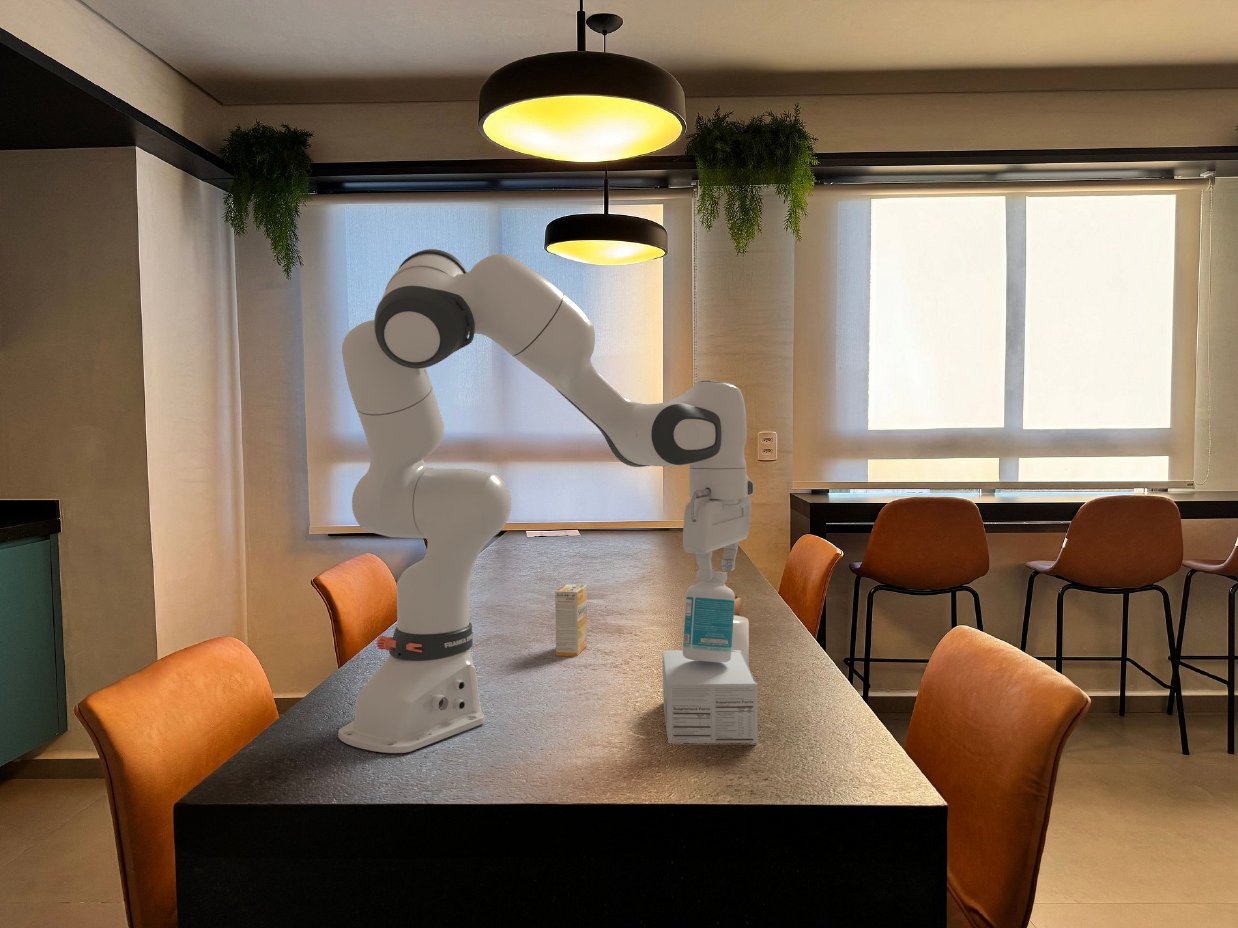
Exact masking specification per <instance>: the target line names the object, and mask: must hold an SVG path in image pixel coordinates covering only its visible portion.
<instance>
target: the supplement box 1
mask: <svg viewBox="0 0 1238 928" xmlns="http://www.w3.org/2000/svg"><path fill="white" fill-rule="evenodd" d="M554 594H555V595H554V596H555V597H554V598H555V656H557V657H578V656H579V655H580V654H581V653H582V652H583V650H584V649H585V648H587V646H588V601H587V599H588V585H587V584H577V583H575V584H572V583H571V584H564V586H562V587H560V588H558V589H557V590H556V591H555V592H554Z"/></svg>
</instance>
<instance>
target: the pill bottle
mask: <svg viewBox="0 0 1238 928" xmlns="http://www.w3.org/2000/svg"><path fill="white" fill-rule="evenodd" d="M696 571H697V572H696V580H697V582H696V583H695V584H692V585H690V586H689V587H688V588H687V590H686V600H685V611H684V612H685V613H684V627H683V641H682V650H683V656H684V657H685V658H687V659H691V660H697V661H706V662H728V661H730V659H731V652H732V636H733V618H734V601H735V595H736V594H735V592H734V591H733V590H732V588H730V587H728V586H727V585H726V582H727V580H728V572H727V571H718V570H714V578H713V579H712V580H710V581H702V580H700V578H699V570H696Z"/></svg>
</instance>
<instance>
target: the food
mask: <svg viewBox="0 0 1238 928" xmlns="http://www.w3.org/2000/svg"><path fill="white" fill-rule="evenodd" d="M734 595H735V601H734V615H735V616H739V614H740V612H741V610H742V609H743V608H742V607H743V601H742V599H741V598H740V597H738V596H737V595H736V594H734Z"/></svg>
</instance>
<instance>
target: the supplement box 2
mask: <svg viewBox="0 0 1238 928" xmlns="http://www.w3.org/2000/svg"><path fill="white" fill-rule="evenodd" d="M754 677H755V676H754V675H753V674H752V671H751V670H750V667H749V668H748V665H747V663H746V661H745V659H744V657H743V655H742V652H741V651H740V650H732V652H731V659H730V661H728V662H706V661H697V660H691V659H687V658H685V657H684V656H683V649H682V650H680V649H679V650H677V649H675V650H673V649H672V650H669V649H668V650H663V651H662V697H663V700H662V701H663V711H664V712H663V713H664V721H665V729H666V731H667V732H666V731H665V732H666V739H667V738H668V740H667V744H668V743H757V744H758V721H759V720H758V718H759V717H758V713H759V712H758V711H759V708H758V705H759V704H758V703H759V702H758V700H759V699H758V698H759V697H758V695H759V693H758V692H759V690H758V689H759V688H758V683H757V681H756V679H755V678H754Z"/></svg>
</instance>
